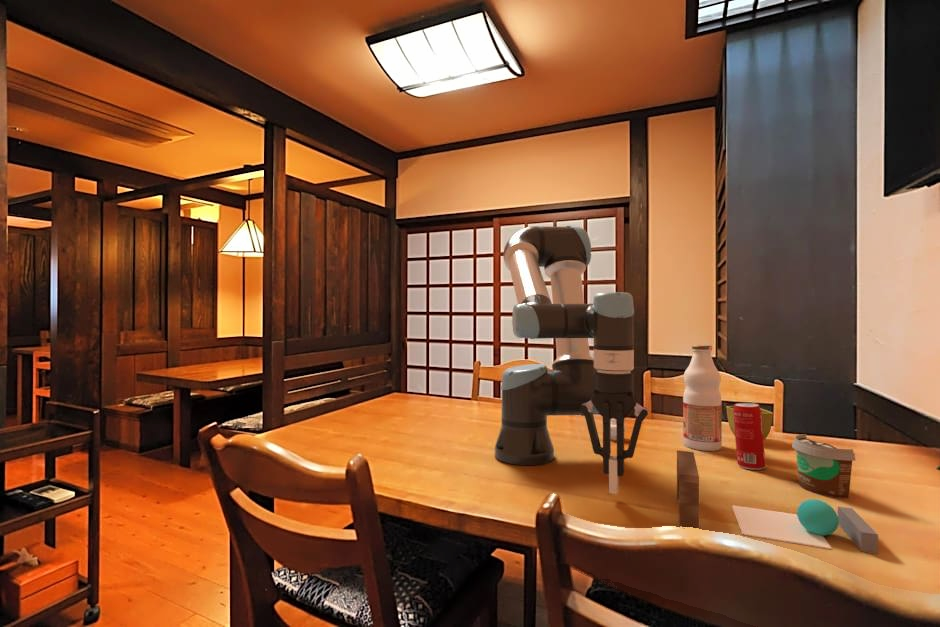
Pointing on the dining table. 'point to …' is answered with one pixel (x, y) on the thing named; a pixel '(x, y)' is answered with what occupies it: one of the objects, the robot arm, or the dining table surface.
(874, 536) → the wall
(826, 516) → the ball
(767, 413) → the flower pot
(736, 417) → the beverage can
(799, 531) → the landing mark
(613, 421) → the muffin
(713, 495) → the dining table surface
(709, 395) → the fruit juice
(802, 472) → the food container
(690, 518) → the grey brown rectangular block
